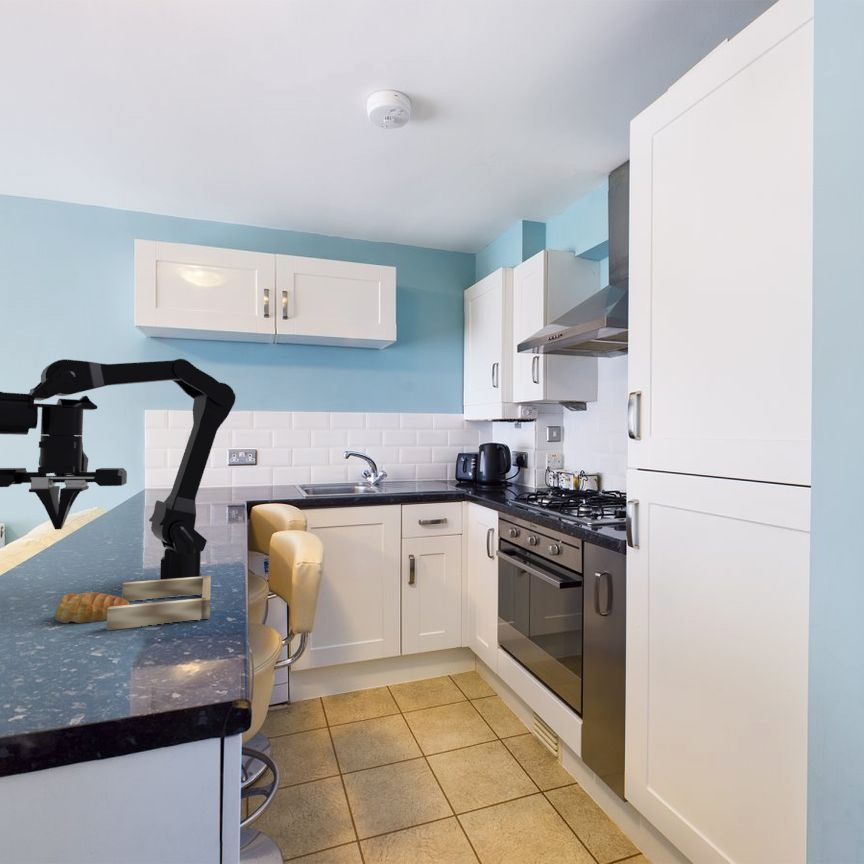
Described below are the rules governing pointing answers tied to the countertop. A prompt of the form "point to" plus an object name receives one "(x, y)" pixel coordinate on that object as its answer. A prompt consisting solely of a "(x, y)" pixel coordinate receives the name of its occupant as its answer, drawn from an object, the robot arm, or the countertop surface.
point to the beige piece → (161, 603)
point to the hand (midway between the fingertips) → (58, 529)
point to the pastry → (86, 607)
